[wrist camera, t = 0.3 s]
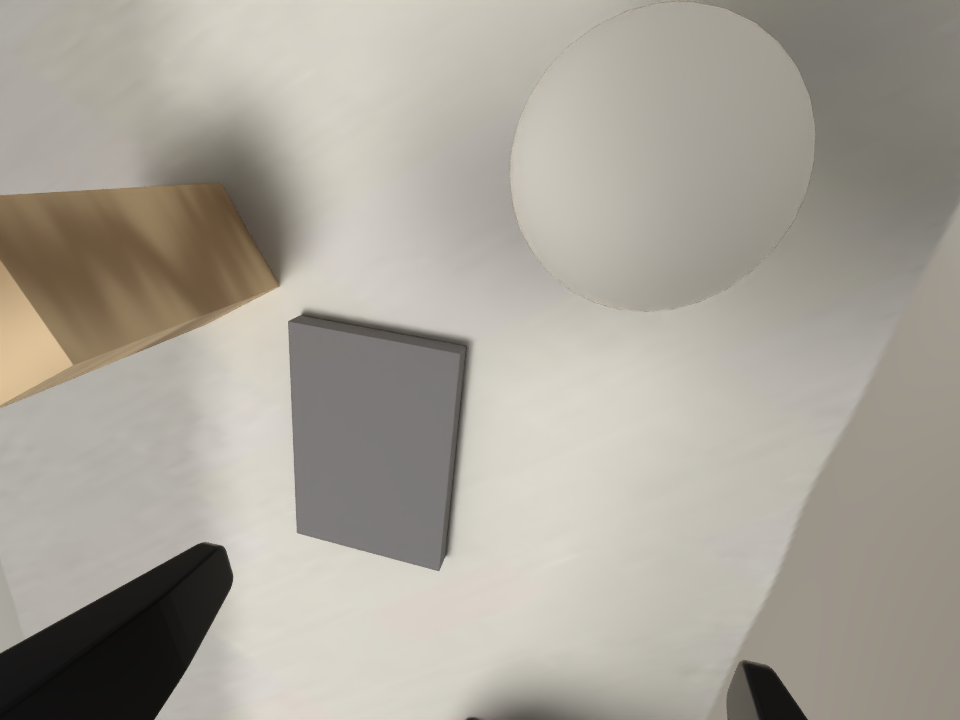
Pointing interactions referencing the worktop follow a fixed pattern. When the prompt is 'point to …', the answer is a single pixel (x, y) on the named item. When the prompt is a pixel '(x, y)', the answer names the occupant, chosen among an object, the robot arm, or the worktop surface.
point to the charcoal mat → (374, 437)
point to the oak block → (115, 276)
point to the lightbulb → (662, 156)
